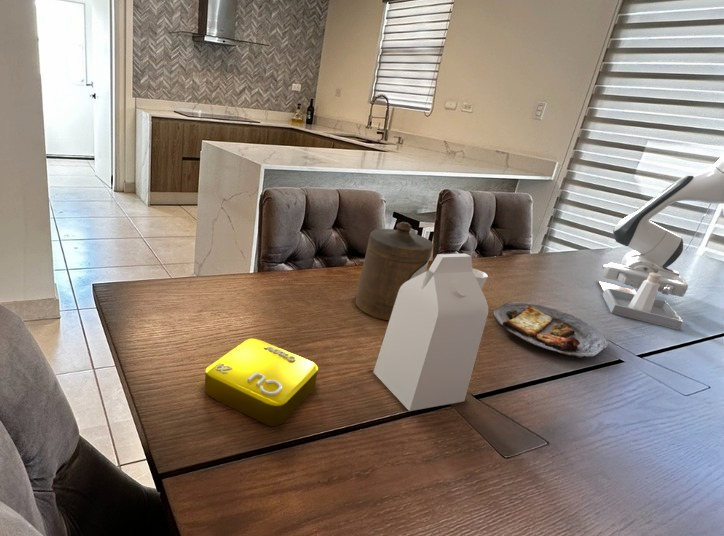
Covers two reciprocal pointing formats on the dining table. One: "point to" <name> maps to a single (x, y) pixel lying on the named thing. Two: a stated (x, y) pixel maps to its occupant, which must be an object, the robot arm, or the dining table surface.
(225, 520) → the dining table surface
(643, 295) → the pepper shaker
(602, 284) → the coaster
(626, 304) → the tray
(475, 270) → the cup
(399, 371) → the milk
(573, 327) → the food plate
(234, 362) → the element tile
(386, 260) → the wooden container
